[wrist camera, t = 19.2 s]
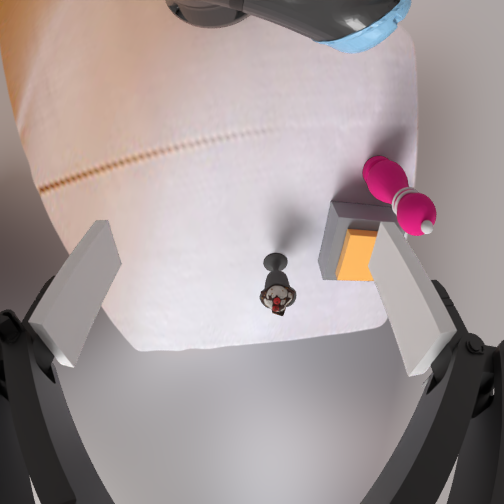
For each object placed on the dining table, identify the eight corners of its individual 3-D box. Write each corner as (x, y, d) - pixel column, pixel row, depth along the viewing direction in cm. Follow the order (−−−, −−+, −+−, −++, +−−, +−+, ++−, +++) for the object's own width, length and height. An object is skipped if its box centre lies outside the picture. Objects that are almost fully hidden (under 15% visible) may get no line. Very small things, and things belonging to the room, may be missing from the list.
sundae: (269, 244, 58) (272, 299, 46) (297, 257, 60) (306, 312, 48) (253, 267, 61) (252, 322, 49) (280, 278, 63) (285, 333, 51)
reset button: (340, 214, 52) (350, 235, 46) (386, 218, 52) (400, 238, 47) (330, 257, 58) (337, 280, 52) (373, 259, 58) (383, 281, 53)
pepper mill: (379, 145, 45) (438, 194, 29) (401, 171, 47) (458, 228, 31) (352, 171, 48) (396, 232, 32) (375, 196, 51) (421, 262, 35)
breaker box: (330, 201, 52) (338, 217, 47) (395, 208, 52) (408, 223, 47) (318, 260, 60) (322, 279, 55) (377, 263, 60) (385, 281, 56)
